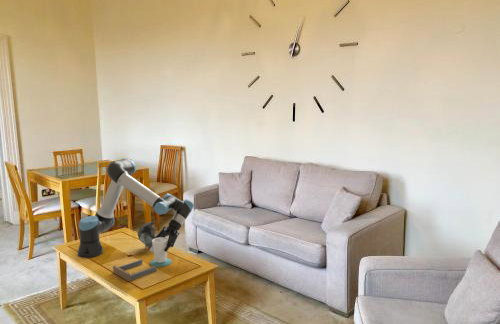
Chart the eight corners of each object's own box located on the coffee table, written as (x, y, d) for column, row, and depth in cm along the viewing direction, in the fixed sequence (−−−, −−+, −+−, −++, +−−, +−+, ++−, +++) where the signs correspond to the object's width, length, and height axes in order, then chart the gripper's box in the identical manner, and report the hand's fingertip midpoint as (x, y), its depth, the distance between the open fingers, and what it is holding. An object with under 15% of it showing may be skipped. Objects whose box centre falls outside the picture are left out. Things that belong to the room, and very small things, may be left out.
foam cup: (171, 258, 233) (170, 238, 231) (164, 264, 224) (163, 243, 222) (157, 256, 236) (156, 236, 234) (149, 262, 227) (149, 241, 225)
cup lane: (113, 272, 216) (113, 266, 215) (141, 263, 229) (141, 256, 228) (128, 281, 205) (127, 274, 204) (156, 270, 218) (156, 264, 218)
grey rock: (132, 248, 252) (131, 222, 250) (150, 242, 265) (149, 217, 263) (147, 253, 245) (146, 226, 242) (164, 246, 257) (163, 221, 255)
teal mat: (145, 262, 230) (145, 262, 229) (163, 256, 239) (163, 256, 239) (158, 268, 221) (158, 268, 221) (176, 262, 231) (176, 261, 231)
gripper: (191, 229, 231) (170, 261, 222) (169, 221, 246) (149, 251, 236) (184, 222, 227) (163, 255, 217) (162, 215, 241) (141, 245, 232)
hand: (156, 253), depth 227 cm, fingers closed on foam cup, 9 cm apart
